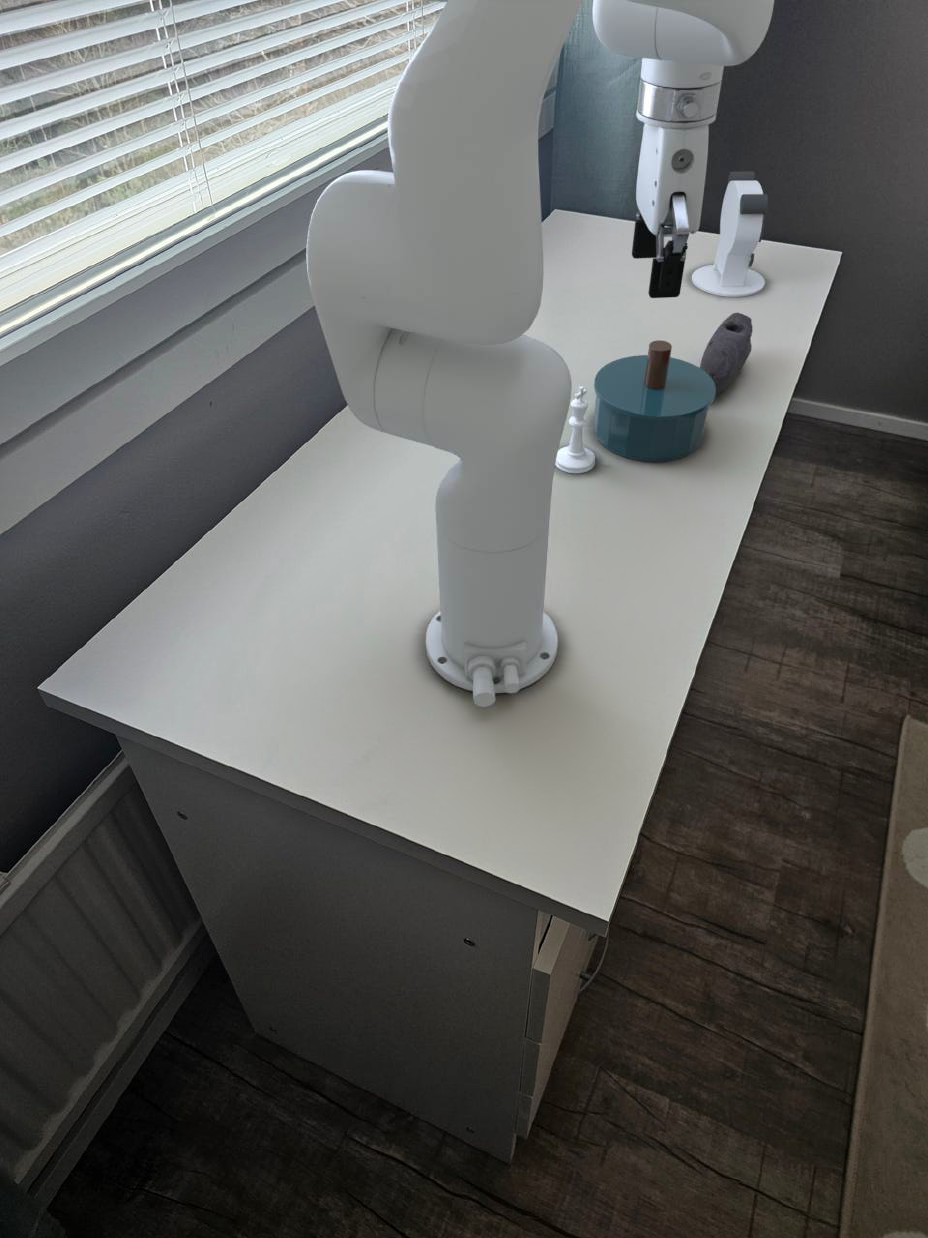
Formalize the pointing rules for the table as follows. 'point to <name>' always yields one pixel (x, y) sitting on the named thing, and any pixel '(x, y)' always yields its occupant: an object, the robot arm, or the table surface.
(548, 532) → the robot arm
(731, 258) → the white stand
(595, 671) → the table surface
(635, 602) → the table surface
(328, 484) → the table surface
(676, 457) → the bowl
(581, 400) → the chess piece
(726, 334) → the perforated stone tool
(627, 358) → the bowl lid
